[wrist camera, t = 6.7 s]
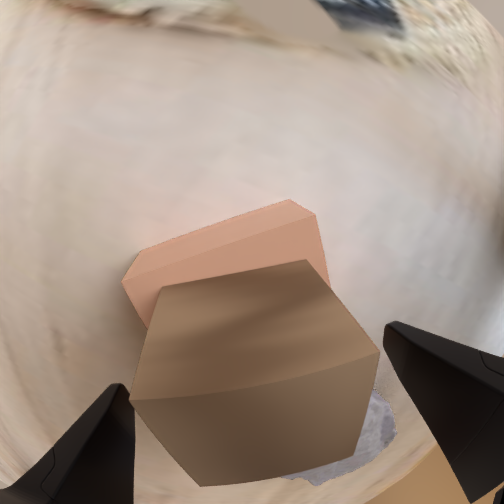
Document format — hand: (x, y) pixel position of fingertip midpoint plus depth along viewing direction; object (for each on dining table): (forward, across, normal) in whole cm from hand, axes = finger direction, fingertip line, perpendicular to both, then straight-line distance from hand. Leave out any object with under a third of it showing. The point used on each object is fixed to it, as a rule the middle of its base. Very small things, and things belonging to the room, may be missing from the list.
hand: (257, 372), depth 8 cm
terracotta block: (+6, 0, 0) cm, 6 cm away
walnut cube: (+2, 0, 0) cm, 2 cm away
